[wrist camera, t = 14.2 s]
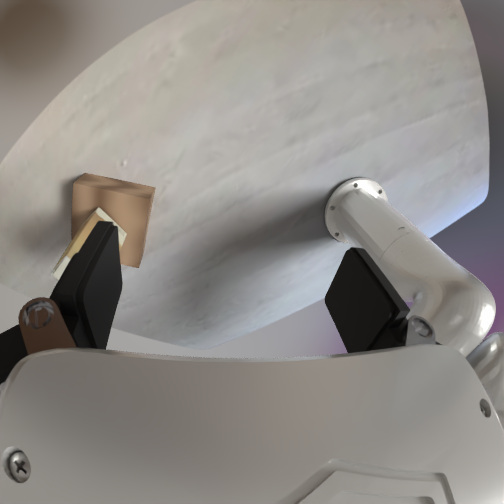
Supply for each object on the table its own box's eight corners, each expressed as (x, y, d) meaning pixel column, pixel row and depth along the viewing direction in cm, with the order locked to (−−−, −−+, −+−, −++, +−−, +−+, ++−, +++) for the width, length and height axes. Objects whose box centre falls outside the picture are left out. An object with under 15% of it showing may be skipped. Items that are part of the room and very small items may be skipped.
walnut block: (156, 186, 39) (149, 199, 35) (144, 250, 45) (138, 268, 41) (86, 172, 35) (73, 183, 31) (82, 236, 41) (71, 252, 37)
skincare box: (128, 233, 37) (108, 290, 27) (111, 249, 38) (90, 307, 28) (97, 204, 33) (65, 255, 23) (81, 222, 34) (49, 275, 24)
